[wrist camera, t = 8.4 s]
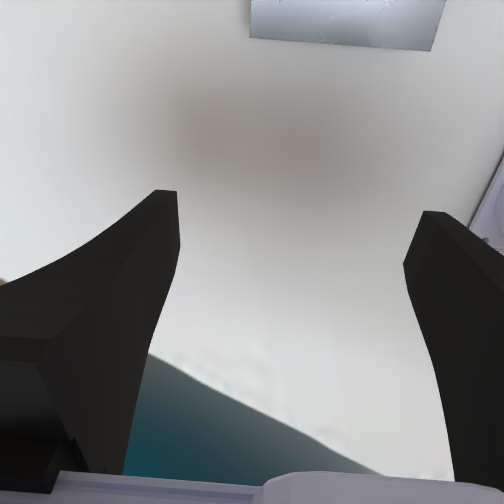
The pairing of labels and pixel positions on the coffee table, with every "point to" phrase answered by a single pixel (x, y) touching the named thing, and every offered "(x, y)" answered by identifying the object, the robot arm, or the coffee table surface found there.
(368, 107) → the coffee table surface
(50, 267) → the robot arm
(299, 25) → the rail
